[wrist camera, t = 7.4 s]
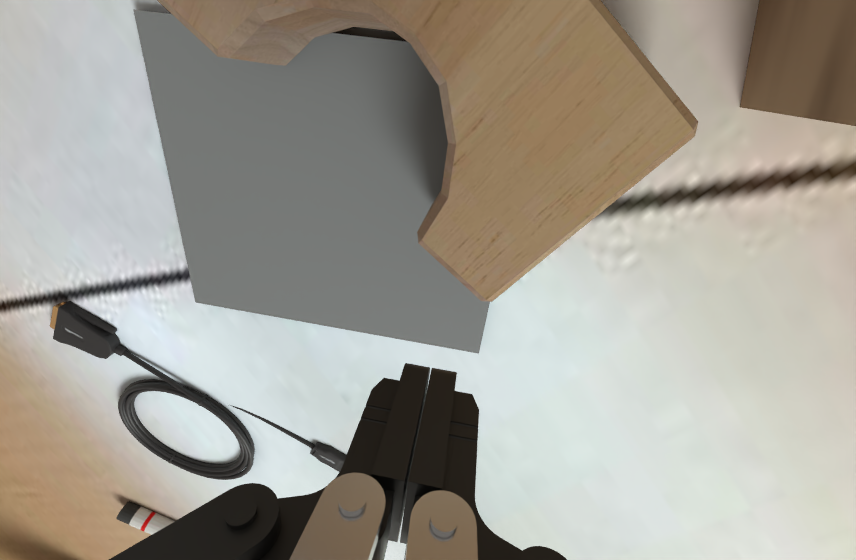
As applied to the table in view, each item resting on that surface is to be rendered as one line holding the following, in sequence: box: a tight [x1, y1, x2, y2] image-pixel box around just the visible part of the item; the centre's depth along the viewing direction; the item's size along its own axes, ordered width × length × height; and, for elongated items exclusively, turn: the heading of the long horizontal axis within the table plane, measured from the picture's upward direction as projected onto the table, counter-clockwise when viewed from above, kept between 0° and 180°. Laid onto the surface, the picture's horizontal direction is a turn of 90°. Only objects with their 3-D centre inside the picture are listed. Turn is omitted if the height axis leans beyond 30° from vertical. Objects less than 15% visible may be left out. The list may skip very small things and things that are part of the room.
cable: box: [50, 301, 347, 480], centre depth 37 cm, size 14×28×2 cm, turn 56°
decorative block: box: [157, 0, 698, 302], centre depth 17 cm, size 11×6×20 cm
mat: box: [133, 9, 490, 353], centre depth 24 cm, size 21×18×1 cm
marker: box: [117, 501, 175, 535], centre depth 46 cm, size 15×2×2 cm, turn 62°
